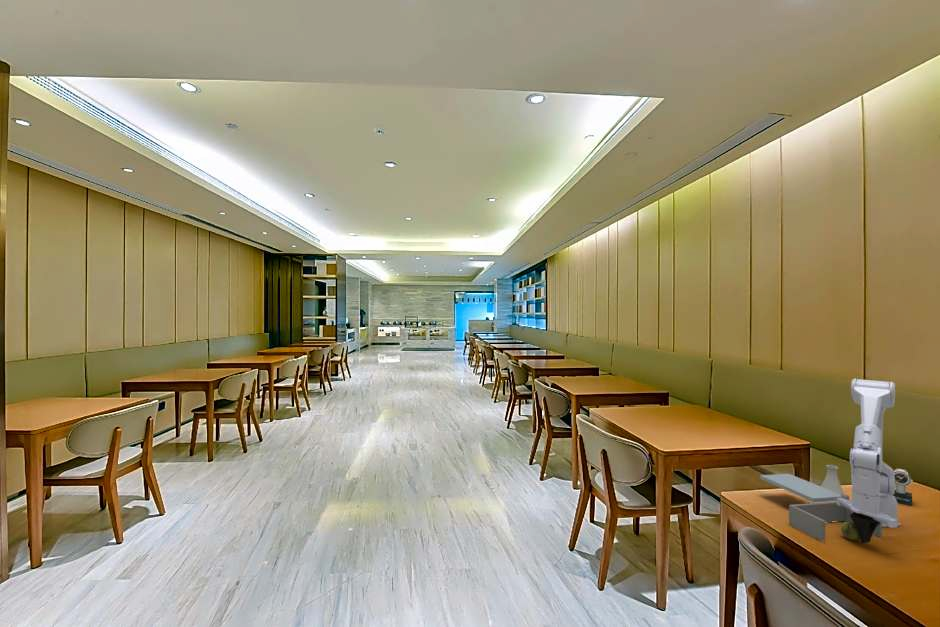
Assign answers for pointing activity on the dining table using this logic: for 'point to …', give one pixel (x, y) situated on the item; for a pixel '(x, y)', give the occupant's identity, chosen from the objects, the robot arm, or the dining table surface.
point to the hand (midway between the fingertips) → (865, 541)
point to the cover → (802, 488)
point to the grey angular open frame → (820, 518)
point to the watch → (902, 487)
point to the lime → (850, 531)
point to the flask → (832, 480)
